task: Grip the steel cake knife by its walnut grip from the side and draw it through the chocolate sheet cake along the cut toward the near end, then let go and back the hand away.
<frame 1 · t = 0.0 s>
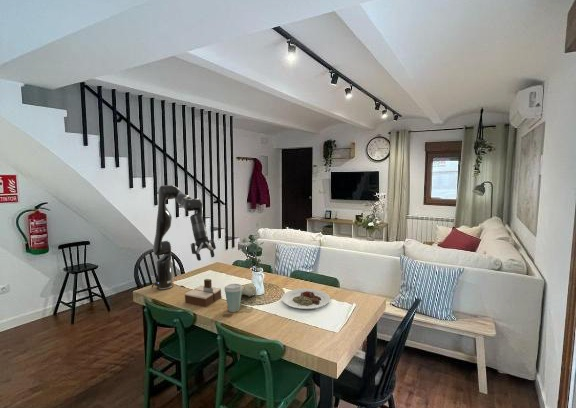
hand: (206, 258, 180), 31 cm above the table, tool tilted 20°, fingers open, 8 cm apart
plated food: (305, 300, 195), on the table
disposable coffee cup: (234, 310, 185), on the table
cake: (203, 300, 199), on the table
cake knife: (208, 301, 197), resting in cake
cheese: (251, 294, 208), on the table
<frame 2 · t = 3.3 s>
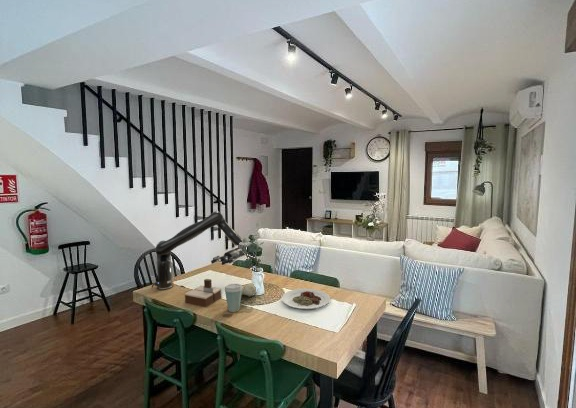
hand: (216, 262, 204), 22 cm above the table, tool horizontal, fingers open, 8 cm apart
nothing on the table moved.
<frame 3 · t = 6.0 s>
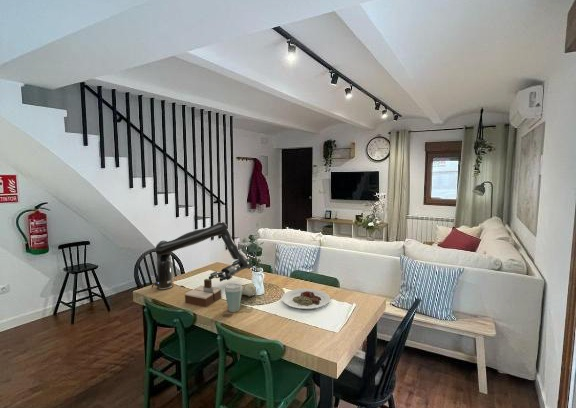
hand: (214, 279, 203), 12 cm above the table, tool horizontal, fingers open, 8 cm apart
nothing on the table moved.
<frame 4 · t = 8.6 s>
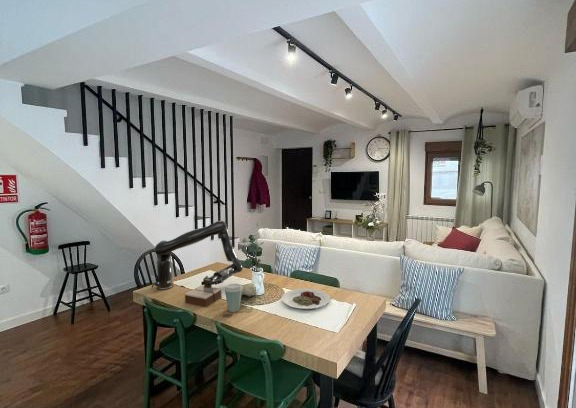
hand: (205, 284, 194), 12 cm above the table, tool horizontal, fingers closed on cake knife, 4 cm apart
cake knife: (208, 301, 197), resting in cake, touching gripper
everything else where it was.
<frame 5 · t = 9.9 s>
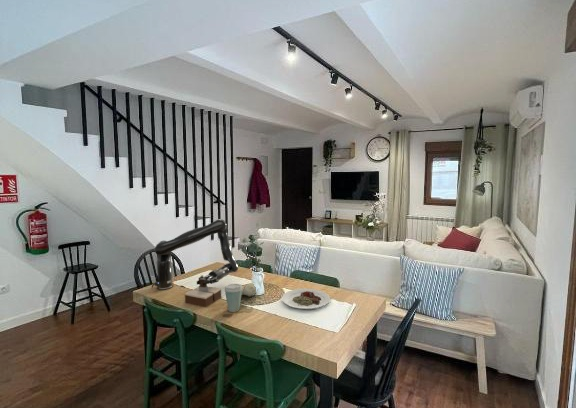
hand: (200, 283, 195), 12 cm above the table, tool horizontal, fingers closed on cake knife, 4 cm apart
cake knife: (204, 300, 199), resting in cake, touching gripper
everything else where it was.
when the fingers open (12 cm above the table, at t = 11.3 s): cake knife stays where it is, resting in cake.
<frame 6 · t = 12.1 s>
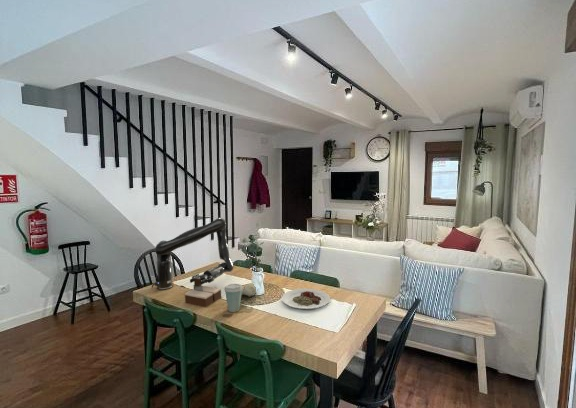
hand: (195, 282, 198), 12 cm above the table, tool horizontal, fingers open, 8 cm apart
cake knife: (198, 299, 201), resting in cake
everything else where it was.
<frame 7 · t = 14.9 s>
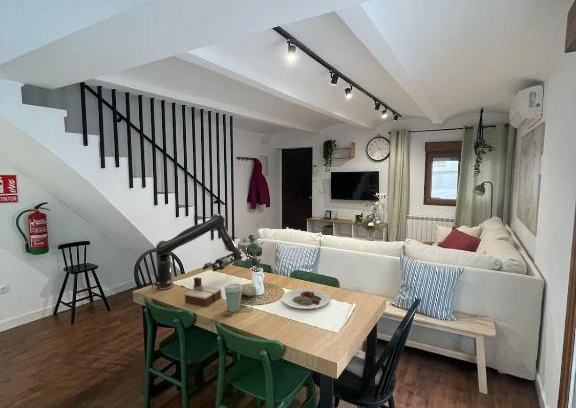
hand: (208, 269, 209), 16 cm above the table, tool horizontal, fingers open, 8 cm apart
nothing on the table moved.
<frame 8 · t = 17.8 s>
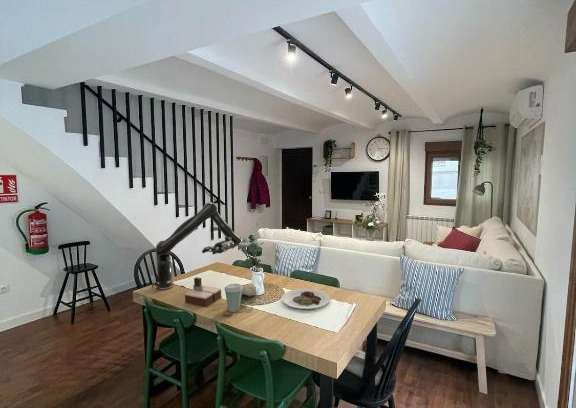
hand: (207, 252, 208), 28 cm above the table, tool horizontal, fingers open, 8 cm apart
nothing on the table moved.
at the end: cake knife 0.3 cm from the target spot on the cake, point 0.0 cm above the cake's base; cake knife tilted 0°; the gripper is holding nothing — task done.
